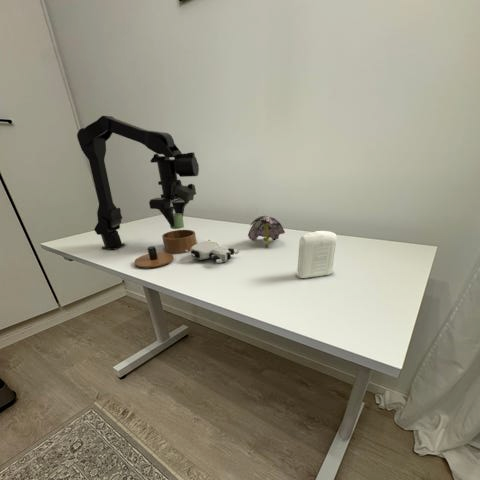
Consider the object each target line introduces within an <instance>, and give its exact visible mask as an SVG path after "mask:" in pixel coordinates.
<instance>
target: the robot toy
mask: <svg viewBox="0 0 480 480" xmlns="http://www.w3.org/2000/svg"><path fill="white" fill-rule="evenodd" d="M185 251H186V253H188V254H189V255H190V256H191V257H192V258H195V259H197V260H199V261H202V260H208V259H212V261H213V262H214V264H221V263H223V262H227V261H228V260H231V258H232V256H234V255H238V254H239V250H237V249H234V248H227V247H223V246H220V243H218V242H215V241H211V240H210V239H208V240H204V241H200V242H197V244H195V245H194V246H192V247H191V249H190V252H189V251H187V250H185Z"/></svg>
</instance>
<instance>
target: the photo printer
mask: <svg viewBox="0 0 480 480" xmlns="http://www.w3.org/2000/svg"><path fill="white" fill-rule="evenodd" d="M337 240H338V238H337V234H336V233H334V232H333V231H329V230H317V231H311V232H309V233H306V234H303V235H302V236H300V237H299V244H298V245H299V246H298V256H297V257H298V258H297V268H296V273H297V277H298V278H299V279H308V278H314V277H321V276H328V275H332V273H333V269H334V263H335V255H336V248H337V243H338V241H337Z"/></svg>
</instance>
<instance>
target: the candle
mask: <svg viewBox="0 0 480 480" xmlns="http://www.w3.org/2000/svg"><path fill="white" fill-rule="evenodd" d="M173 218H174V226H171V225H170V224H169V227H170V229H171V230H181V229H183V228H184V227H185V223H184V215H183V216H182V213H175V212H173Z"/></svg>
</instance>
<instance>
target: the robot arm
mask: <svg viewBox="0 0 480 480" xmlns="http://www.w3.org/2000/svg"><path fill="white" fill-rule="evenodd" d="M113 134H116V135H117V136H120V137H123V138H126V139H129V140H131V141H134V142H137V143H139V144H142V145H143V146H145V147H146V148H147V149H149V151H152V152H153V153H154V154H153V156H152V158H151V159H150V163H151V164H152V163H153V164H154V163H156V164H157V170H158V175H159V181H157V184H158V186H161V191H162V194H160V197H154V198H151V199H150V200H149V201H148V204H149V208H150V210H159V212H160V213H161V215H163V217H164V218H165V219H166V221H167V223H169V226H170V225H171V226H174V218H173V213H182V216H183V217H184V212H185V207H186V206H187V205H188V204H189V203H190V202H191V201H194V197H195V195H197V192H196V186H195V184H193V183H189V184H187V185H183V184H182V181H181V179H178V176H179V177H181V178H187V177H189V178H190V177H198V176H199V172H200V168H199V167H200V166H199V163H198V159H197V157H196V154H195V152H193V151H192V152H187V153H182V151H181V150H180V149H179V147H178V146H177V145H176V143H175V140H174V138H173V136H172V135H171V134H170V133H169V132H164V131H163V132H162V131H155V130H149V129H144V128H143V127H142V128H141V127H140V126H137V125H135V124H131V123H128V122H126V121H123V120H121V119H117V118H115V117H114V116H111V115H101V116H100V117H98V119H97V120H95V121H93V122H92V123H89V124H88V125H87V126H86V127H81V128H80V129H79V130H78V131H77V133H76V137H77V141H78V144H79V147H80V149H81V152H82V153H83V155H84V156H85V157H86V158H87V160H88V163H89V167H90V171H91V175H92V176H91V177H92V180H93V184H94V189H95V194H96V196H97V202H98V208H97V211H96V215H97V222H96V225H95V227H94V229H93V230H94V232H95V234H96V235H97V236H101V239H102V242H103V246H102V247H101V249H103V250H112V251H113V250H116V249H119V248H120V247H123V246H125V243H123V242H122V239H121V235H120V234H119V231H118V230H120V228H121V223H122V220H123V216H122V211H121V208H120V207H117V206H116V205H115V203H114V201H113V196H112V191H111V187H110V182H109V176H108V172H107V168H106V162H105V158H106V153H107V141H108V140H110V139H111V137H112V136H113ZM172 158H173V159H172Z"/></svg>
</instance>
